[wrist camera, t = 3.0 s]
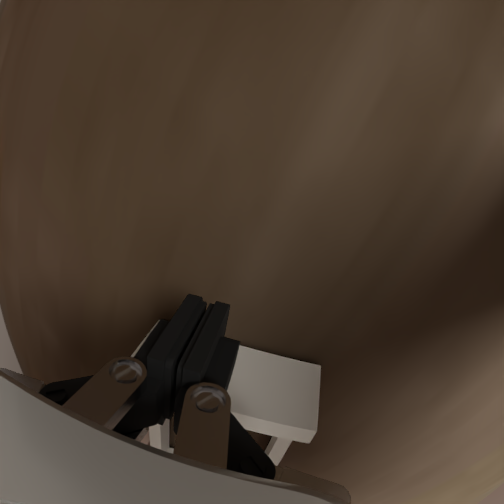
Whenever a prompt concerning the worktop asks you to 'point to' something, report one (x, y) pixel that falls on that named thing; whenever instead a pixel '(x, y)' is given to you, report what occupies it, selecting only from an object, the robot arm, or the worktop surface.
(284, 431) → the rack
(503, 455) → the worktop surface
